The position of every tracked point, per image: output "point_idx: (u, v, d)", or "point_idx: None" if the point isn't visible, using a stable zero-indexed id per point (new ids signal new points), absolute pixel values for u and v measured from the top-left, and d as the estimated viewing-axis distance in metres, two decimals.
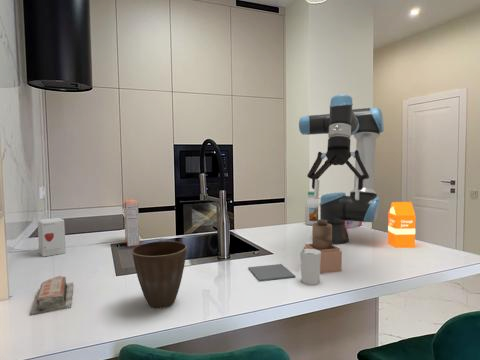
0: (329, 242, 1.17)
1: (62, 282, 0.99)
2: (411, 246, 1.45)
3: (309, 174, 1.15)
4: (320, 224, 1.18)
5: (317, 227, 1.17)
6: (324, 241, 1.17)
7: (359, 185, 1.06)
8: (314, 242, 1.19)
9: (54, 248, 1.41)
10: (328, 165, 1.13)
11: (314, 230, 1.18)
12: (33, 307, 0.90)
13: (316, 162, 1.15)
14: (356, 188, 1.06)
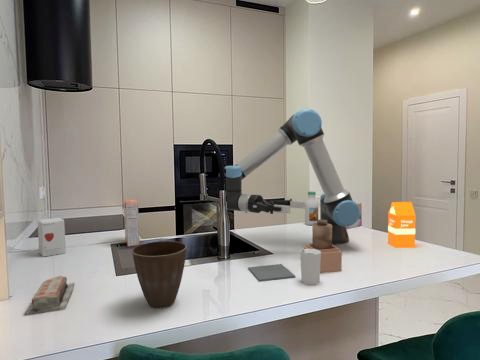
0: (329, 242, 1.17)
1: (61, 282, 0.98)
2: (411, 246, 1.45)
3: None
4: (320, 224, 1.18)
5: (317, 227, 1.17)
6: (324, 241, 1.17)
7: None
8: (314, 242, 1.19)
9: (54, 248, 1.41)
10: (275, 204, 1.34)
11: (314, 230, 1.18)
12: (29, 307, 0.90)
13: None
14: None
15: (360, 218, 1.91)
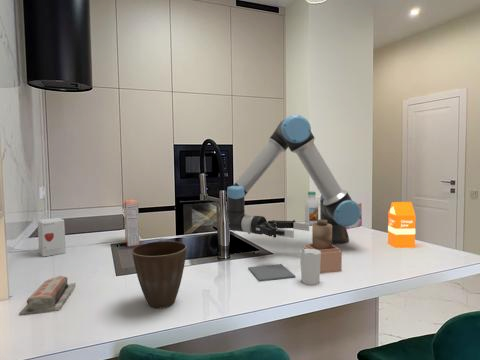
0: (329, 242, 1.17)
1: (59, 283, 0.98)
2: (411, 246, 1.45)
3: None
4: (320, 224, 1.18)
5: (317, 227, 1.17)
6: (324, 241, 1.17)
7: None
8: (314, 242, 1.19)
9: (54, 249, 1.41)
10: (278, 225, 1.34)
11: (314, 230, 1.18)
12: (26, 307, 0.90)
13: None
14: None
15: (360, 218, 1.91)
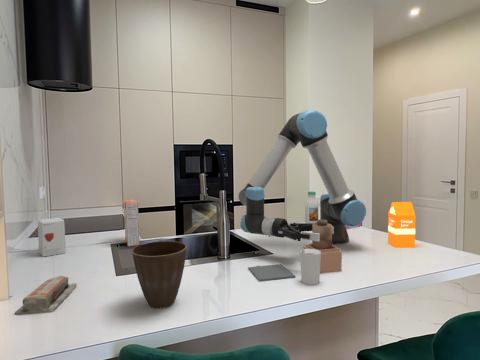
0: (329, 242, 1.17)
1: (58, 283, 0.98)
2: (411, 246, 1.45)
3: None
4: (320, 224, 1.18)
5: (317, 227, 1.17)
6: (324, 241, 1.17)
7: None
8: (314, 242, 1.19)
9: (54, 249, 1.41)
10: (300, 228, 1.28)
11: (314, 230, 1.18)
12: (22, 306, 0.90)
13: None
14: None
15: None
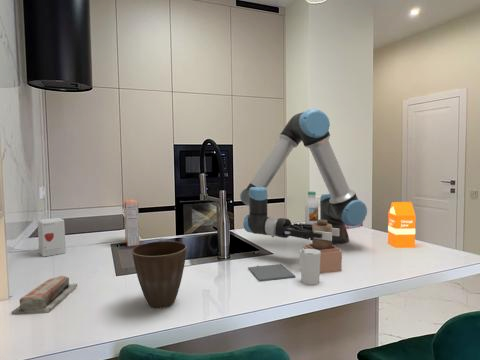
0: (329, 242, 1.17)
1: (57, 283, 0.98)
2: (411, 246, 1.45)
3: None
4: (320, 224, 1.18)
5: (317, 227, 1.17)
6: (324, 241, 1.17)
7: None
8: (314, 242, 1.19)
9: (54, 248, 1.41)
10: None
11: (314, 230, 1.18)
12: None
13: None
14: None
15: None
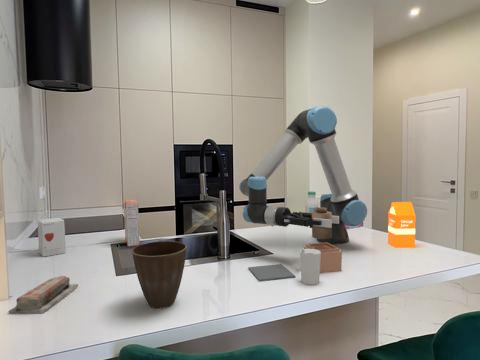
0: (329, 229, 1.17)
1: (56, 283, 0.98)
2: (411, 246, 1.45)
3: None
4: (319, 212, 1.18)
5: (316, 214, 1.17)
6: (324, 228, 1.16)
7: None
8: (314, 230, 1.18)
9: (54, 248, 1.41)
10: None
11: None
12: None
13: None
14: None
15: None
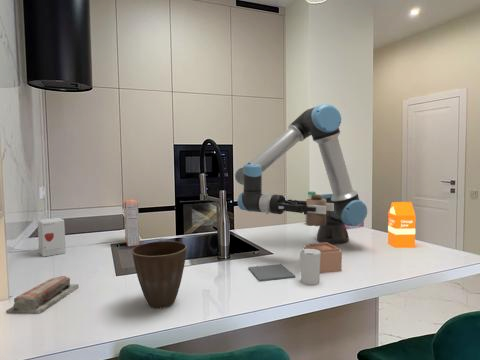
0: (323, 216, 1.16)
1: (55, 283, 0.98)
2: (411, 246, 1.45)
3: None
4: (314, 198, 1.17)
5: (311, 201, 1.16)
6: (318, 215, 1.15)
7: None
8: (308, 217, 1.17)
9: (54, 248, 1.41)
10: None
11: (308, 204, 1.17)
12: None
13: None
14: None
15: None
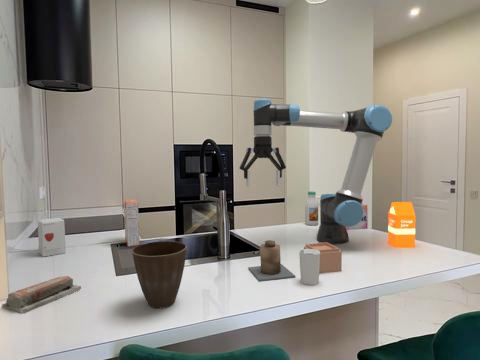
0: (276, 264, 1.13)
1: (52, 284, 0.98)
2: (411, 246, 1.45)
3: None
4: (267, 246, 1.14)
5: (263, 249, 1.13)
6: (270, 263, 1.12)
7: None
8: (261, 264, 1.14)
9: (54, 249, 1.41)
10: (269, 158, 1.41)
11: (261, 252, 1.14)
12: None
13: None
14: None
15: (365, 220, 1.85)
